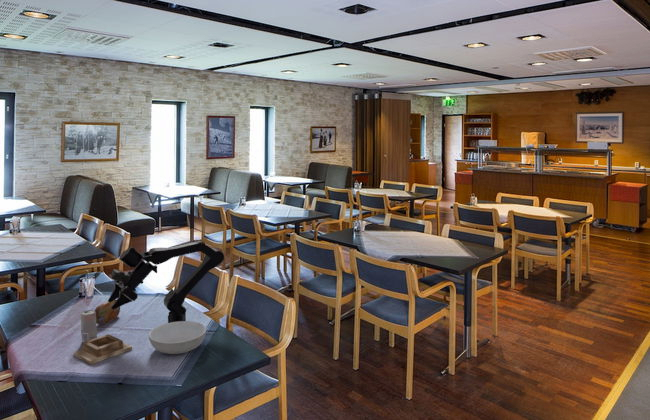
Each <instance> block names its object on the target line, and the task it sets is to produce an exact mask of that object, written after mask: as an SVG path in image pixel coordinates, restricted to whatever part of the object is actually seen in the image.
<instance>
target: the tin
mask: <svg viewBox="0 0 650 420" xmlns="http://www.w3.org/2000/svg"><path fill="white" fill-rule="evenodd" d="M116 300H117V299H115V300H113V301H112V302H108V300H107V301H105V302H103V303H102V304H99V305H97V307H95V309H94V311H95V313H96V325H101V326H104V325H107V324H108V323H110V322H111V321H113V320H115V319H117V318H118V316H119V315H120V311H121V306H120V307H118V308H116V309H112V308H111V307H112V306H113V304H114V303H115V301H116ZM106 323H107V324H106Z"/></svg>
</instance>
